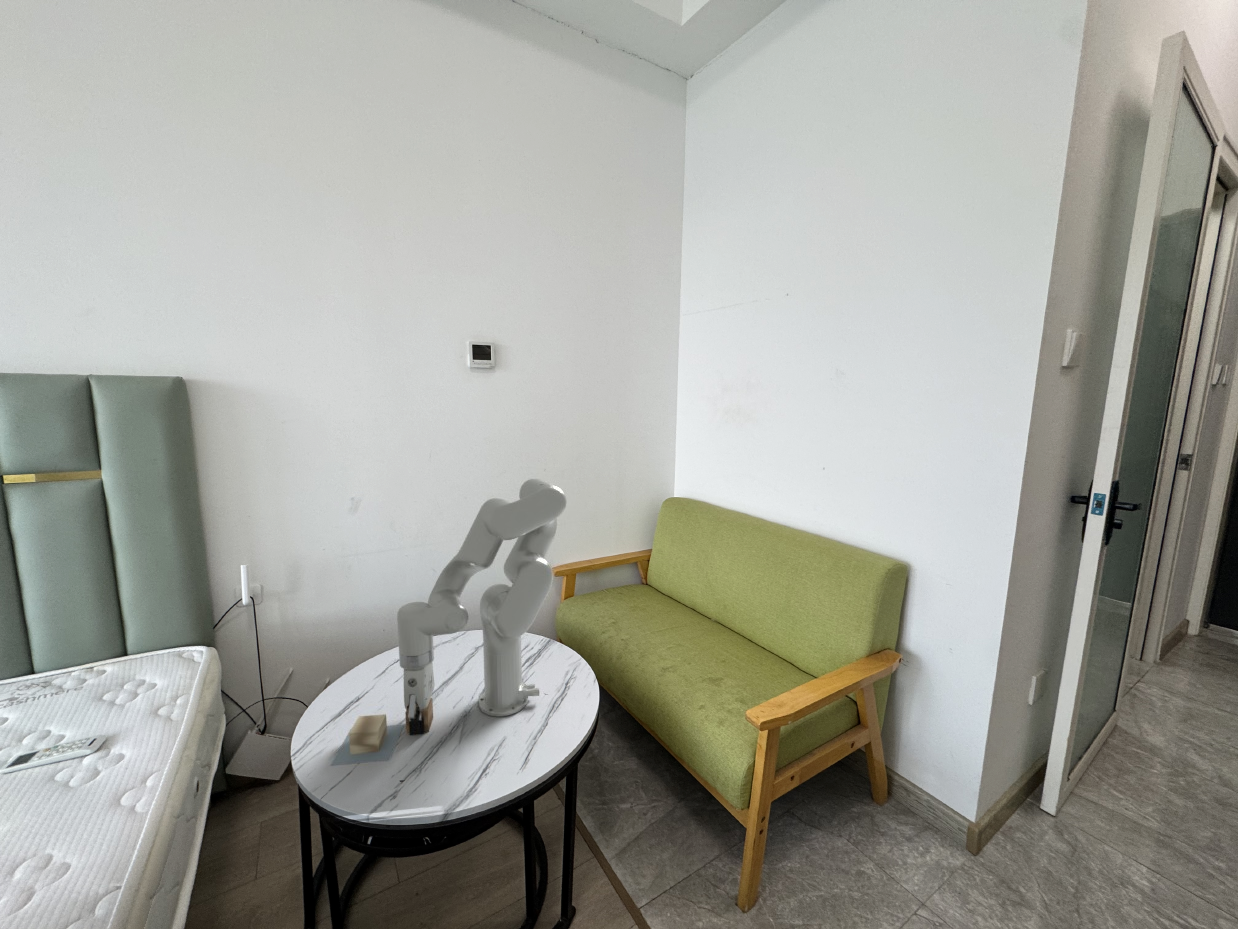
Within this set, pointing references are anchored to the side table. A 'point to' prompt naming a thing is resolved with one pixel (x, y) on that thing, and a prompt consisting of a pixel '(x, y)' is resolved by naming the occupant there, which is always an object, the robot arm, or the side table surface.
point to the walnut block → (427, 715)
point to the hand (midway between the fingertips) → (420, 725)
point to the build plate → (382, 755)
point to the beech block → (368, 734)
